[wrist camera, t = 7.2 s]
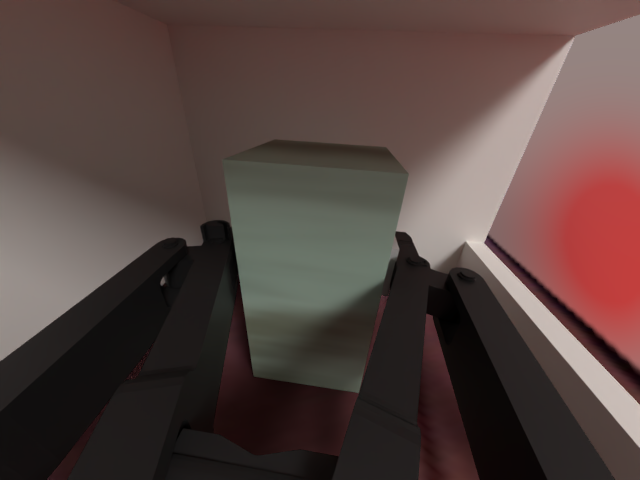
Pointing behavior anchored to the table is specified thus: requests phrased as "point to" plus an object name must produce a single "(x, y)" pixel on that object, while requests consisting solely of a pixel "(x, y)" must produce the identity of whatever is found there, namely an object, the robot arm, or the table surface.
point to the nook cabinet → (282, 124)
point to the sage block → (313, 254)
